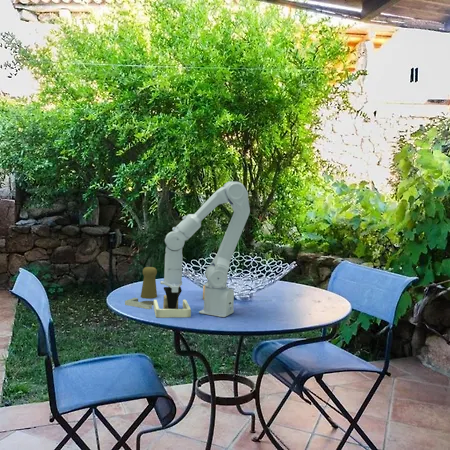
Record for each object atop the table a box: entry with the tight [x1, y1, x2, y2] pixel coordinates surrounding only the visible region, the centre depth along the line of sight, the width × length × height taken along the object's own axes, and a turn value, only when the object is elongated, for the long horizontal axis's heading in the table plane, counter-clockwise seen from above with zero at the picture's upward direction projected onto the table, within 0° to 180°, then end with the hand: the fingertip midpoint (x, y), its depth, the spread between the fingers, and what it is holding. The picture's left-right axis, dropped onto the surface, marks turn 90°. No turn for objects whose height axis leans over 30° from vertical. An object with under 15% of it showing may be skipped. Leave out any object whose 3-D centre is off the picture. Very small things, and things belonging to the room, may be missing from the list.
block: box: [162, 294, 179, 309], centre depth 167 cm, size 4×4×4 cm
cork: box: [140, 266, 158, 300], centre depth 184 cm, size 6×6×11 cm
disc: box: [141, 300, 154, 306], centre depth 174 cm, size 6×6×1 cm
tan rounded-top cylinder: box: [202, 284, 205, 301], centre depth 185 cm, size 5×5×5 cm
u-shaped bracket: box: [152, 299, 192, 319], centre depth 165 cm, size 13×11×2 cm
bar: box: [124, 297, 153, 310], centre depth 171 cm, size 10×6×2 cm, turn 64°
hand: (171, 309), depth 164 cm, fingers closed
